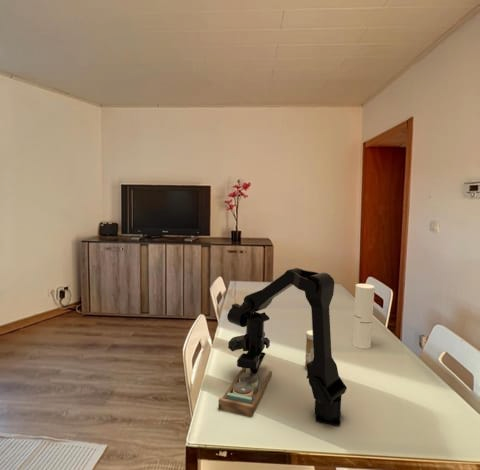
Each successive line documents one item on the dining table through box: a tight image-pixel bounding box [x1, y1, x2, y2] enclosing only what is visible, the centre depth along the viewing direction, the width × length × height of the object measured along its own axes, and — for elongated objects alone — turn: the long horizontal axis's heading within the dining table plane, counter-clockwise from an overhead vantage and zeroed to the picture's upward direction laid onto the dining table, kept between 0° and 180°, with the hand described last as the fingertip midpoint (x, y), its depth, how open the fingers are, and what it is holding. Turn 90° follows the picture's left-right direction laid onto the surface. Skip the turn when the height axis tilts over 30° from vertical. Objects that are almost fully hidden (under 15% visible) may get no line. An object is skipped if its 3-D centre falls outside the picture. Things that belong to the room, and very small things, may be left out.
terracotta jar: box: [233, 382, 254, 402], centre depth 106 cm, size 6×6×4 cm
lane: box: [218, 367, 273, 418], centre depth 110 cm, size 10×23×3 cm, turn 162°
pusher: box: [227, 393, 253, 404], centre depth 102 cm, size 7×1×3 cm, turn 71°
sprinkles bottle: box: [304, 329, 314, 370], centre depth 124 cm, size 5×5×13 cm
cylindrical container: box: [352, 283, 376, 350], centre depth 143 cm, size 7×7×25 cm
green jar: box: [239, 371, 259, 394], centre depth 111 cm, size 6×6×4 cm
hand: (253, 376), depth 117 cm, fingers closed
